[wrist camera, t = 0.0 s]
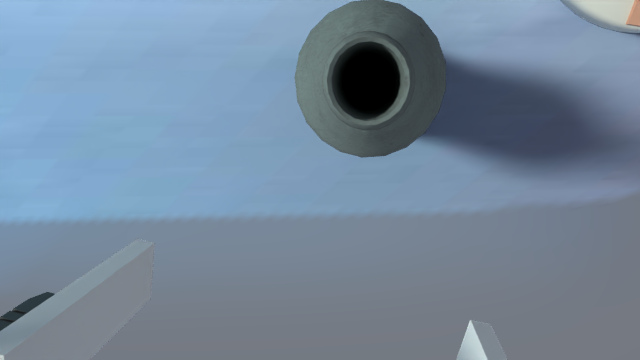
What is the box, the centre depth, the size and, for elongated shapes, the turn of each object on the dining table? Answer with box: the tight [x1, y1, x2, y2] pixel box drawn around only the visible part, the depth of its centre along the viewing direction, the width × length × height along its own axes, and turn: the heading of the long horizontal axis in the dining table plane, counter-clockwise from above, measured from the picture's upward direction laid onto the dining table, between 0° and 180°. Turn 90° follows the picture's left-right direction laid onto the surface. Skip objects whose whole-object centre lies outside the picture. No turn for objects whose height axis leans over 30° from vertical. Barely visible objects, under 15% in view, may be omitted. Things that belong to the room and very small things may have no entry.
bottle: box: [295, 0, 446, 157], centre depth 25 cm, size 9×9×30 cm
